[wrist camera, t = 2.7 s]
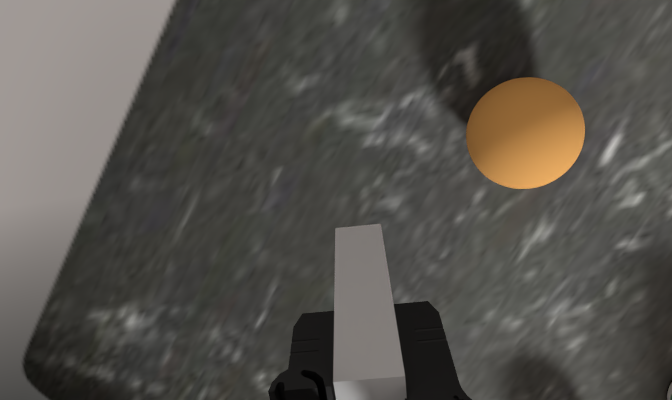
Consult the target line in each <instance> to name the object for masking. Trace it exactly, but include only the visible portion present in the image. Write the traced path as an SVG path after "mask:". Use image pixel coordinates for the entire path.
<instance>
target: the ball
mask: <svg viewBox="0 0 672 400" xmlns="http://www.w3.org/2000/svg"><path fill="white" fill-rule="evenodd" d="M584 136H585V124H584V119H583V115H582V112H581V110H580V107H579V105H578V104H577V102H576V101H575V99H574V98H573V97H572V96H571V95H570V94H569V93H568V92H567V91H566V90H565V89H563V88H562V87H561V86H559V85H557V84H555V83H553V82H551V81H548V80H545V79H540V78H533V77H525V78H516V79H512V80H509V81H506V82H504V83H501V84H499V85H497V86H496V87H494V88H492V89H491V90H490V91H488V92H487V93H486V94H485V95H484V96H483V97H482V98H481V99H480V100H479V101H478V103H477V104H476V106H475V107H474V109H473V111H472V113H471V115H470V118H469V121H468V125H467V130H466V140H467V147H468V151H469V154H470V156H471V158H472V160H473V162H474V164H475V165H476V167H477V168H478V169H479V170H480V171H481V172H482V173H483V174H484V175H485V176H486V177H487V178H489V179H490V180H492V181H494V182H496V183H498V184H500V185H503V186H506V187H510V188H516V189H528V188H535V187H539V186H543V185H546V184H548V183H550V182H552V181H554V180H556V179H557V178H559V177H560V176H562V175H563V174H564V173H565V172H566V171H567V170H568V169H569V168H570V167H571V166H572V165H573V163H574V162H575V161H576V159H577V157H578V156H579V154H580V151H581V149H582V146H583V142H584Z"/></svg>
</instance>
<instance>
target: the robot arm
mask: <svg viewBox="0 0 672 400" xmlns="http://www.w3.org/2000/svg"><path fill="white" fill-rule="evenodd" d="M290 353H291V355H290V360H289V368H288V370H286V371H284V372H283V373H281V374H279V376H278V377H277V378H276V379H275V380H274V381H273V382H272V384H271V386H270V389H269V391H268V392H269V396H270V400H472V399H471V398H469V397H468V396H467V395H466V394H465V392H464V391H463V390H462V388H461V386H460V384H459V381H458V377H457V374H456V370H455V367H454V363H453V360H452V356H451V353H450V350H449V346H448V343H447V341H446V336H445V332H444V329H443V325H442V322H441V318H440V315H439V312H438V311H437V310H436V309H435V308H434V307H433V306H432V305H431V304H430V303H429V302H428V301H424V302H413V303H402V304H393V298H392V292H391V285H390V279H389V273H388V267H387V260H386V254H385V248H384V242H383V236H382V229H381V224H374V225H364V226H354V227H344V228H336V231H335V295H334V311H327V312H316V313H305V314H302V315H301V317H300V318H299V320H298V321H297V323H296V324H295V326H294V329H293V337H292V344H291V352H290Z"/></svg>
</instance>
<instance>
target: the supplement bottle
mask: <svg viewBox="0 0 672 400" xmlns="http://www.w3.org/2000/svg"><path fill="white" fill-rule="evenodd" d="M667 400H672V383H671V384H670V386H669V389H668V393H667Z"/></svg>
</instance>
